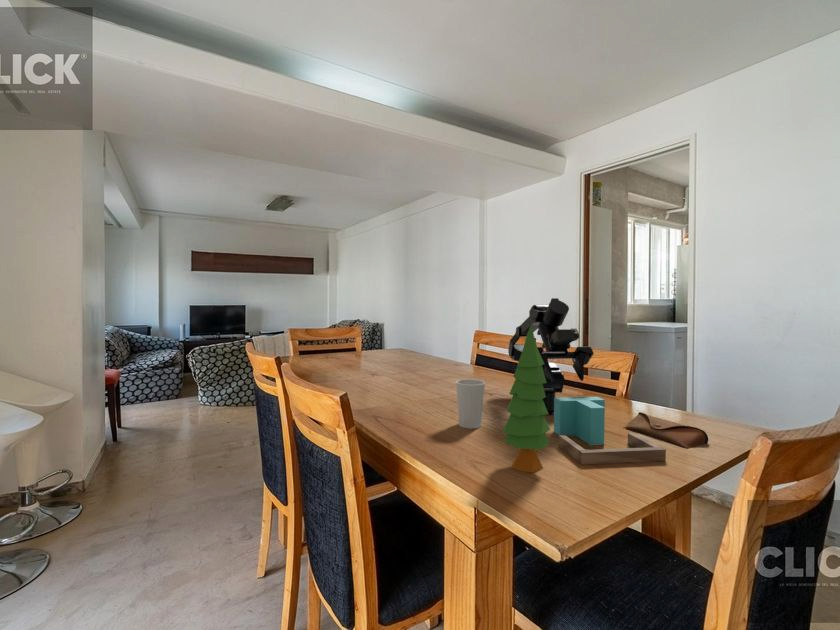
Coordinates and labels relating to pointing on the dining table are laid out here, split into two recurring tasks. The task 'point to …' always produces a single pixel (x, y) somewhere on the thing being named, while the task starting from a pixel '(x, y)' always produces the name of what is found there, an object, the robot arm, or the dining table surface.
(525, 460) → the decorative tree
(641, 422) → the sunglasses case
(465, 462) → the dining table surface
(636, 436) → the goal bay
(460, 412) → the cup
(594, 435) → the t block
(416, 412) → the dining table surface
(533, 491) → the dining table surface
